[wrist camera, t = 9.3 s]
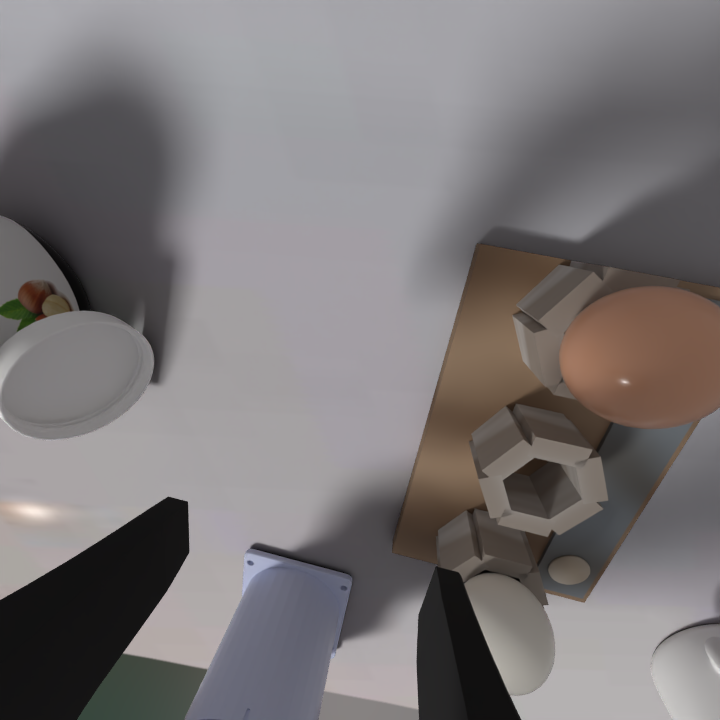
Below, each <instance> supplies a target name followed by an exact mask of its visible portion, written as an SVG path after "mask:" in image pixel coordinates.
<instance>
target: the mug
mask: <svg viewBox="0 0 720 720" xmlns="http://www.w3.org/2000/svg"><path fill="white" fill-rule="evenodd" d="M651 674H652V678H653V681H654V684H655V686H656V688H657V690H658V692H659V694H660V697H661V699H662V701H663V703H664V704H665V706H666V708H667V710H668V712H669V714H670V716H671V718H672V720H720V624H707V625H701V626H696V627H692V628H689V629H686V630H683V631H680V632H678V633H676V634H674V635H672V636H670V637H669V638H667V639H666V640H664V641H663V642H662V643H661V644H660V645H659V646H658V648H657V649H656V650H655V652H654V654H653V657H652V661H651Z"/></svg>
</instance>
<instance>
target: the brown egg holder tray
mask: <svg viewBox="0 0 720 720" xmlns="http://www.w3.org/2000/svg"><path fill="white" fill-rule="evenodd" d="M642 286H663V287H672V288H678V289H682V290H686V291H689V292H693V293H695V294H698V295H700V296H702V297H704V298H706V299H708V300H710V301H711V302H713V303H715V304H716V305H718V306H719V307H720V288H719V287H714V286H708V285H703V284H697V283H692V282H687V281H681V280H678V279H673V278H667V277H662V276H656V275H651V274H645V273H640V272H634V271H629V270H623V269H618V268H612V267H607V266H601V265H595V264H589V263H583V262H577V261H572V260H566V259H561V258H555V257H550V256H544V255H539V254H533V253H528V252H522V251H517V250H511V249H506V248H500V247H495V246H490V245H484V244H478V243H477V245H476V248H475V252H474V255H473V259H472V262H471V266H470V269H469V273H468V276H467V280H466V284H465V287H464V291H463V294H462V298H461V301H460V305H459V308H458V312H457V315H456V319H455V322H454V326H453V329H452V333H451V337H450V340H449V344H448V347H447V351H446V354H445V358H444V361H443V365H442V368H441V372H440V375H439V379H438V382H437V386H436V389H435V393H434V397H433V400H432V404H431V407H430V411H429V414H428V418H427V421H426V425H425V428H424V432H423V435H422V439H421V442H420V446H419V450H418V453H417V457H416V460H415V464H414V467H413V471H412V474H411V478H410V481H409V485H408V488H407V492H406V495H405V499H404V502H403V506H402V510H401V513H400V517H399V520H398V524H397V527H396V531H395V534H394V538H393V547H392V553H395V554H399V555H403V556H407V557H411V558H414V559H418V560H422V561H426V562H430V563H434V564H437V565H438V567H441V568H444V569H448V570H452V571H456V572H459V573H460V575H461V577H462V579H463V582H464V583H465V582H467V581H468V580H469V579H470V578H472V577H474V576H476V575H479V574H482V573H499V574H503V575H506V576H509V577H511V578H513V579H515V580H517V581H519V582H520V583H521V584H523V585H524V586H525V587H526V588H528V589H529V590H530V591H531V592H532V593H533V594H534V596H535V597H536V598H537V599H538V601H539V602H540V603H541V605H542V606H543V605H548V602H547V598H546V594H545V593H549V594H553V595H557V596H561V597H565V598H568V599H572V600H576V601H580V602H585V601H586V599H587V598H588V596H589V595H590V593H591V591H592V590H593V588H594V587H595V585H596V584H597V582H598V580H599V579H600V577H601V576H602V574H603V573H604V571H605V569H606V568H607V566H608V565H609V563H610V562H611V560H612V558H613V557H614V555H615V554H616V552H617V550H618V549H619V547H620V546H621V544H622V543H623V541H624V539H625V538H626V536H627V535H628V533H629V532H630V530H631V528H632V527H633V525H634V524H635V522H636V521H637V519H638V517H639V516H640V514H641V513H642V511H643V509H644V508H645V506H646V505H647V503H648V502H649V500H650V498H651V497H652V495H653V494H654V492H655V491H656V489H657V487H658V486H659V484H660V483H661V481H662V480H663V478H664V476H665V475H666V473H667V472H668V470H669V468H670V467H671V465H672V464H673V462H674V461H675V459H676V457H677V456H678V454H679V453H680V451H681V450H682V448H683V446H684V445H685V443H686V442H687V440H688V439H689V437H690V435H691V434H692V432H693V431H694V429H695V427H696V426H697V424H698V423H699V421H700V420H701V419H700V420H697V421H694V422H692V423H689V424H686V425H682V426H678V427H672V428H664V429H640V428H633V427H627V426H623V425H619V424H616V423H613V422H610V421H608V420H605V419H603V418H601V417H599V416H598V415H596V414H594V413H592V412H591V411H589V410H588V409H587V408H586V407H584V406H583V405H582V404H581V403H579V401H578V400H577V399H576V398H575V397H574V396H573V395H572V394H571V392H570V391H569V389H568V388H567V386H566V384H565V381H564V379H563V377H562V374H561V371H560V364H559V350H560V345H561V342H562V339H563V336H564V334H565V332H566V330H567V328H568V327H569V325H570V324H571V322H572V321H573V320H574V319H575V317H576V316H577V315H578V314H579V313H580V312H581V311H582V310H584V309H585V308H586V307H588V306H589V305H590V304H592V303H593V302H595V301H597V300H598V299H600V298H602V297H604V296H606V295H609V294H612V293H614V292H617V291H620V290H624V289H629V288H634V287H642ZM543 608H544V607H543Z"/></svg>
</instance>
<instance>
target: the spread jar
mask: <svg viewBox="0 0 720 720" xmlns="http://www.w3.org/2000/svg"><path fill="white" fill-rule="evenodd" d="M153 369H154V354H153V351H152V348H151V345H150V344H149V342H148V341H147V339H146V338H145V337H144V336H143V335H142V334H141V333H139V332H138V331H137V330H135V329H134V328H133V327H131V326H130V325H128V324H127V323H125V322H124V321H122V320H120V319H118V318H116V317H114V316H112V315H109V314H105V313H102V312H95V311H91V310H90V306H89V302H88V299H87V296H86V294H85V291H84V289H83V287H82V285H81V283H80V282H79V280H78V278H77V277H76V275H75V274H74V272H73V271H72V269H71V268H70V267H69V266H68V264H67V263H66V262H65V261H64V260H63V259H62V257H61V256H60V255H59V254H58V253H57V252H56V251H55V250H54V249H53V248H52V247H51V246H50V245H49V244H48V243H46V242H45V241H44V240H43V239H42V238H40V237H39V236H38V235H36V234H35V233H34V232H32V231H31V230H29V229H28V228H26V227H25V226H23V225H21V224H19V223H17V222H15V221H13V220H11V219H9V218H7V217H4V216H1V215H0V417H1V418H2V419H3V420H4V421H5V422H6V423H7V424H8V425H9V426H10V428H11V429H13V430H14V431H16V432H18V433H20V434H21V435H23V436H27V437H30V438H34V439H39V440H64V439H70V438H74V437H79V436H82V435H85V434H88V433H91V432H94V431H96V430H98V429H100V428H102V427H104V426H106V425H108V424H110V423H111V422H113V421H114V420H116V419H117V418H119V417H120V416H121V415H123V414H124V413H125V412H126V411H128V410H129V409H130V408H131V407H132V406H133V405H134V404H135V403H136V402H137V401H138V399H139V398H140V397H141V395H142V394H143V393H144V391H145V390H146V388H147V386H148V384H149V382H150V380H151V377H152V374H153Z"/></svg>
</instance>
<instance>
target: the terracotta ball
mask: <svg viewBox="0 0 720 720" xmlns="http://www.w3.org/2000/svg"><path fill="white" fill-rule="evenodd" d="M559 364H560V371H561V374H562V377H563V379H564V381H565V384H566V386H567V388H568V389H569V391H570V392H571V394H572V395H573V396H574V397H575V398H576V399H577V400H578V401H579V403H581V404H582V405H583V406H584V407H586V408H587V409H588V410H589V411H591V412H592V413H594V414H596V415H598V416H599V417H601V418H603V419H605V420H608V421H610V422H613V423H616V424H619V425H623V426H627V427H633V428H640V429H664V428H672V427H678V426H682V425H686V424H689V423H692V422H694V421H697V420H700V419H702V418H704V417H706V416H708V415H709V414H711V413H713V412H714V411H716V410H717V409H719V408H720V307H719V306H718V305H716V304H715V303H713V302H711V301H710V300H708V299H706V298H704V297H702V296H700V295H698V294H695V293H693V292H689V291H686V290H682V289H678V288H672V287H663V286H642V287H634V288H629V289H624V290H620V291H617V292H614V293H612V294H609V295H606V296H604V297H602V298H600V299H598V300H597V301H595V302H593V303H592V304H590V305H589V306H588V307H586V308H585V309H584V310H582V311H581V312H580V313H579V314H578V315H577V316H576V317H575V319H574V320H573V321H572V322H571V324H570V325H569V327H568V328H567V330H566V332H565V334H564V336H563V339H562V342H561V345H560V350H559Z"/></svg>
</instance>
